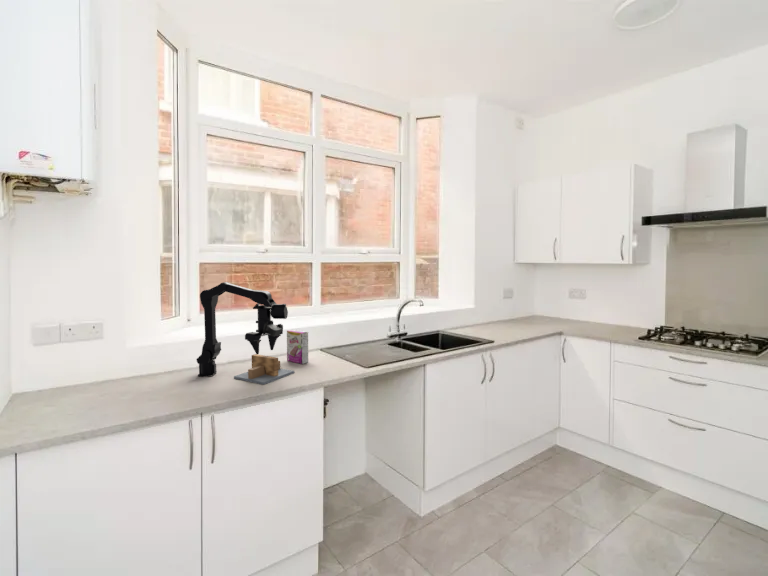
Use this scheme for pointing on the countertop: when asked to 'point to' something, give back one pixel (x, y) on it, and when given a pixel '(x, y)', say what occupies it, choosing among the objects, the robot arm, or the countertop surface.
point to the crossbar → (266, 363)
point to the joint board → (262, 375)
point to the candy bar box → (297, 346)
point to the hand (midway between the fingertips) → (264, 352)
